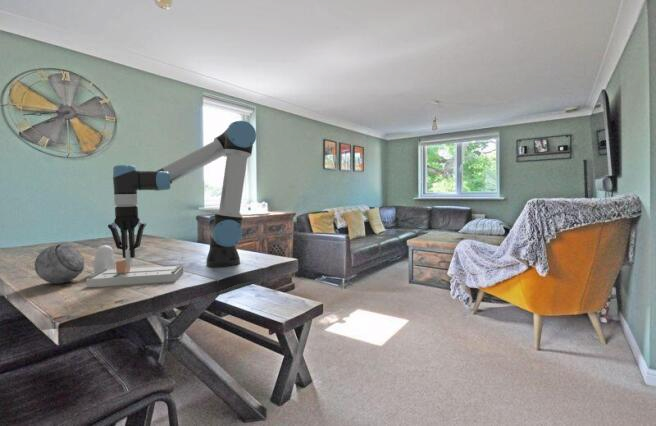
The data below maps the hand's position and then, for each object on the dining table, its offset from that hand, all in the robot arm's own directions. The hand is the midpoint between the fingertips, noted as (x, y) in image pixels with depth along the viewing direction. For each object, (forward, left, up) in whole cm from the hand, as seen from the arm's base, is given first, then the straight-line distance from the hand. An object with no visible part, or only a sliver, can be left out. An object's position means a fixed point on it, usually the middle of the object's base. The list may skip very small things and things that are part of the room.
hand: (129, 266), depth 129 cm
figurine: (+15, -15, -6) cm, 22 cm away
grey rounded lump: (+25, -3, -6) cm, 26 cm away
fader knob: (+2, 0, -2) cm, 3 cm away
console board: (-3, 0, -6) cm, 6 cm away
